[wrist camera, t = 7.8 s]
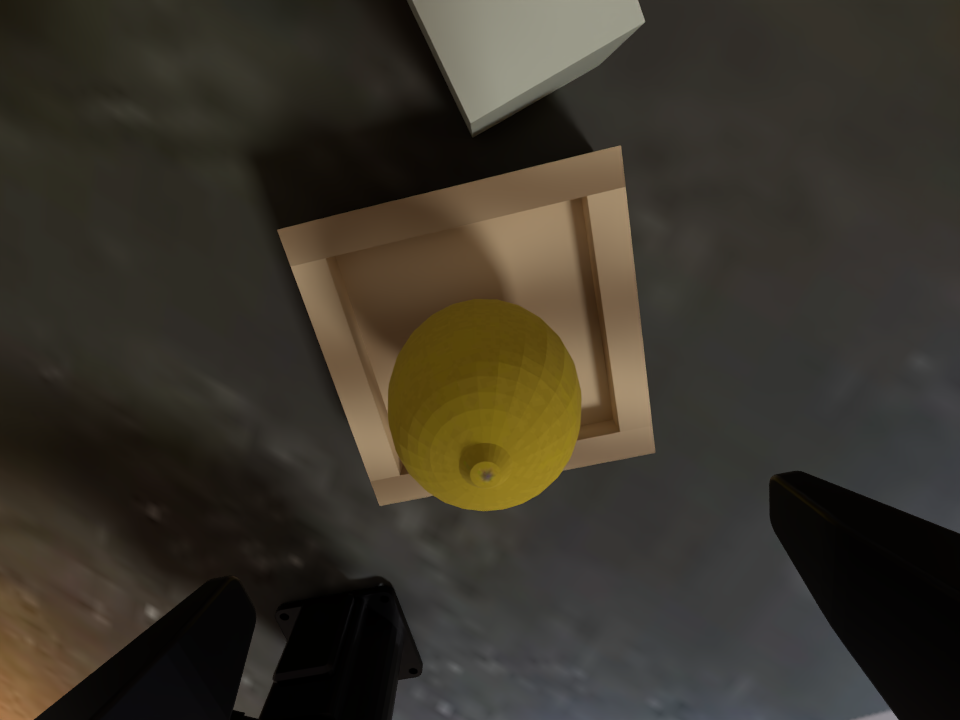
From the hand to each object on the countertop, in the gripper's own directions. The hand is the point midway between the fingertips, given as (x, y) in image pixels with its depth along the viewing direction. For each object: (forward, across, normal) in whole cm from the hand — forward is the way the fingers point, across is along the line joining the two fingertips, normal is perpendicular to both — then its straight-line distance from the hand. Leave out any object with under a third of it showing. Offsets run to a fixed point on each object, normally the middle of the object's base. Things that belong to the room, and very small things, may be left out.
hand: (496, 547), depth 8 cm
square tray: (+13, 0, 0) cm, 13 cm away
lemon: (+11, 0, 0) cm, 11 cm away
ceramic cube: (+13, -3, -10) cm, 17 cm away
